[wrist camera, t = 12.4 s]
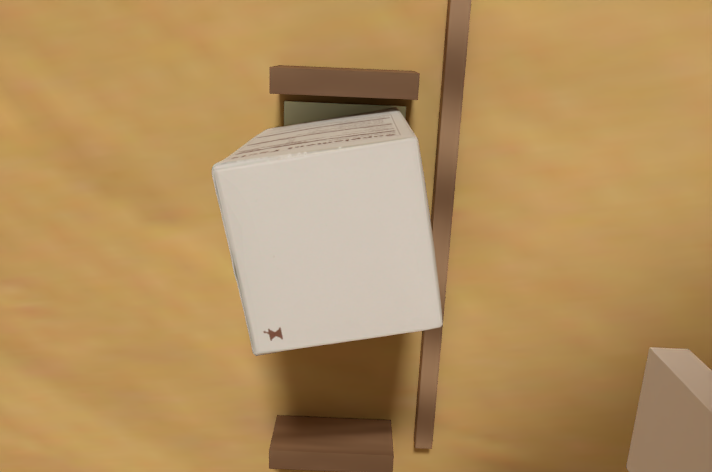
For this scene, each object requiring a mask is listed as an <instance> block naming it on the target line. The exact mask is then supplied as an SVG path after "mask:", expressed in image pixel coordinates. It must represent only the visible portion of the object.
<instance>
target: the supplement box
mask: <svg viewBox="0 0 712 472" xmlns="http://www.w3.org/2000/svg"><path fill="white" fill-rule="evenodd" d="M212 177H213V181H214V185H215V190H216V195H217V199H218V203H219V207H220V211H221V215H222V220H223V224H224V228H225V233H226V237H227V241H228V245H229V250H230V254H231V260H232V265H233V270H234V275H235V278H236V281H237V284H238V288H239V293H240V297H241V301H242V306H243V310H244V314H245V319H246V324H247V328H248V332H249V336H250V341H251V346H252V351H253V354H254V355H256V356H258V355H264V354H270V353H276V352H282V351H288V350H294V349H300V348H306V347H313V346H320V345H327V344H335V343H341V342H348V341H355V340H362V339H369V338H376V337H383V336H389V335H396V334H404V333H410V332H417V331H424V330H430V329H435V328H440V327H441V326H442V325H443V321H442V309H441V299H440V291H439V282H438V274H437V266H436V257H435V249H434V241H433V234H432V227H431V220H430V213H429V206H428V199H427V193H426V186H425V179H424V173H423V167H422V161H421V155H420V149H419V143H418V138H417V137H416V136H415V134H414V132H413V131H412V130H411V128H410V126H409V124H408V123H407V121H406V120H405V118H404V117H403V115H402V114H401V112H400V111H399V110H398V108H397V107H393V108H388V109H383V110H377V111H371V112H365V113H358V114H352V115H346V116H340V117H334V118H328V119H322V120H316V121H310V122H304V123H298V124H292V125H286V126H280V127H275V128H270V129H266V130H265V131H263V132H262V133H260V134H258V135H257V136H255V137H254V138H253V139H251V140H250V141H249V142H247V143H246V144H244V145H243V146H242V147H240V148H239V149H238V150H236V151H235V152H234V153H232V154H231V155H230V156H228V157H227V158H225V159H224V160H222V161H220V162H218V163H216V164H214V165H213V167H212Z"/></svg>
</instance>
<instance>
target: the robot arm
mask: <svg viewBox="0 0 712 472" xmlns="http://www.w3.org/2000/svg"><path fill="white" fill-rule="evenodd" d="M626 468H627V470H628V471H629V472H712V370H711V369H710V368H708V367H707V366H706V365H705V364H704V363H703V362H702V361H701V360H700V359H699V358H698V357H697V356H696V355H695V354H693V353H692V352H691V351H690V350H689V349H677V348H654V347H649V352H648V357H647V362H646V367H645V373H644V378H643V383H642V388H641V393H640V398H639V403H638V408H637V414H636V419H635V424H634V429H633V434H632V439H631V444H630V450H629V455H628V460H627V465H626Z"/></svg>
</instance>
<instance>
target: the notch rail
mask: <svg viewBox="0 0 712 472" xmlns="http://www.w3.org/2000/svg"><path fill="white" fill-rule="evenodd" d="M470 9H471V0H448V10H447V22H446V35H445V48H444V61H443V74H442V86H441V99H440V112H439V125H438V138H437V150H436V163H435V176H434V189H433V202H432V214H431V227H432V234H433V241H434V249H435V257H436V266H437V274H438V282H439V291H440V299H441V309H442V321H443V316H444V304H445V293H446V282H447V270H448V259H449V248H450V236H451V225H452V213H453V202H454V191H455V179H456V168H457V157H458V145H459V134H460V123H461V111H462V100H463V88H464V77H465V66H466V54H467V43H468V32H469V20H470ZM419 75H420V74H419V73H417V72H415V71H399V70H376V69H352V68H329V67H306V66H282V65H279V66H273V67H270V94H294V95H317V96H341V97H364V98H387V99H411V100H418V90H419ZM442 327H443V325H442V326H441V327H440V328H435V329H430V330H424V331H422V342H421V355H420V368H419V381H418V394H417V406H416V419H415V432H414V442H415V448H428V449H432V441H433V429H434V418H435V407H436V395H437V384H438V372H439V361H440V350H441V338H442ZM393 457H394V454H393V441H392V427H391V420H374V419H350V418H327V417H303V416H279V415H277V419H276V423H275V427H274V432H273V436H272V440H271V444H270V449H269V469H292V470H315V471H339V472H393Z"/></svg>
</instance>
